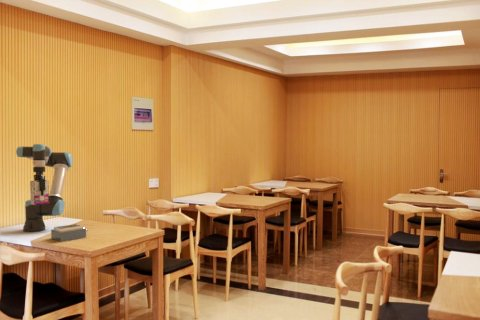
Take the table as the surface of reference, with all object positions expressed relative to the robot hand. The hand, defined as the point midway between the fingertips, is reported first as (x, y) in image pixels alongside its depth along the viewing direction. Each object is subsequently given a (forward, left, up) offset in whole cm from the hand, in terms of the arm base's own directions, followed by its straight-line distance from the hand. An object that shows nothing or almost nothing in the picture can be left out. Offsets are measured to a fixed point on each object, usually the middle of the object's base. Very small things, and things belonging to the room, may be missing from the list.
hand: (39, 199), depth 315 cm
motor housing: (+17, +14, -26) cm, 34 cm away
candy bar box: (0, 0, -3) cm, 3 cm away
